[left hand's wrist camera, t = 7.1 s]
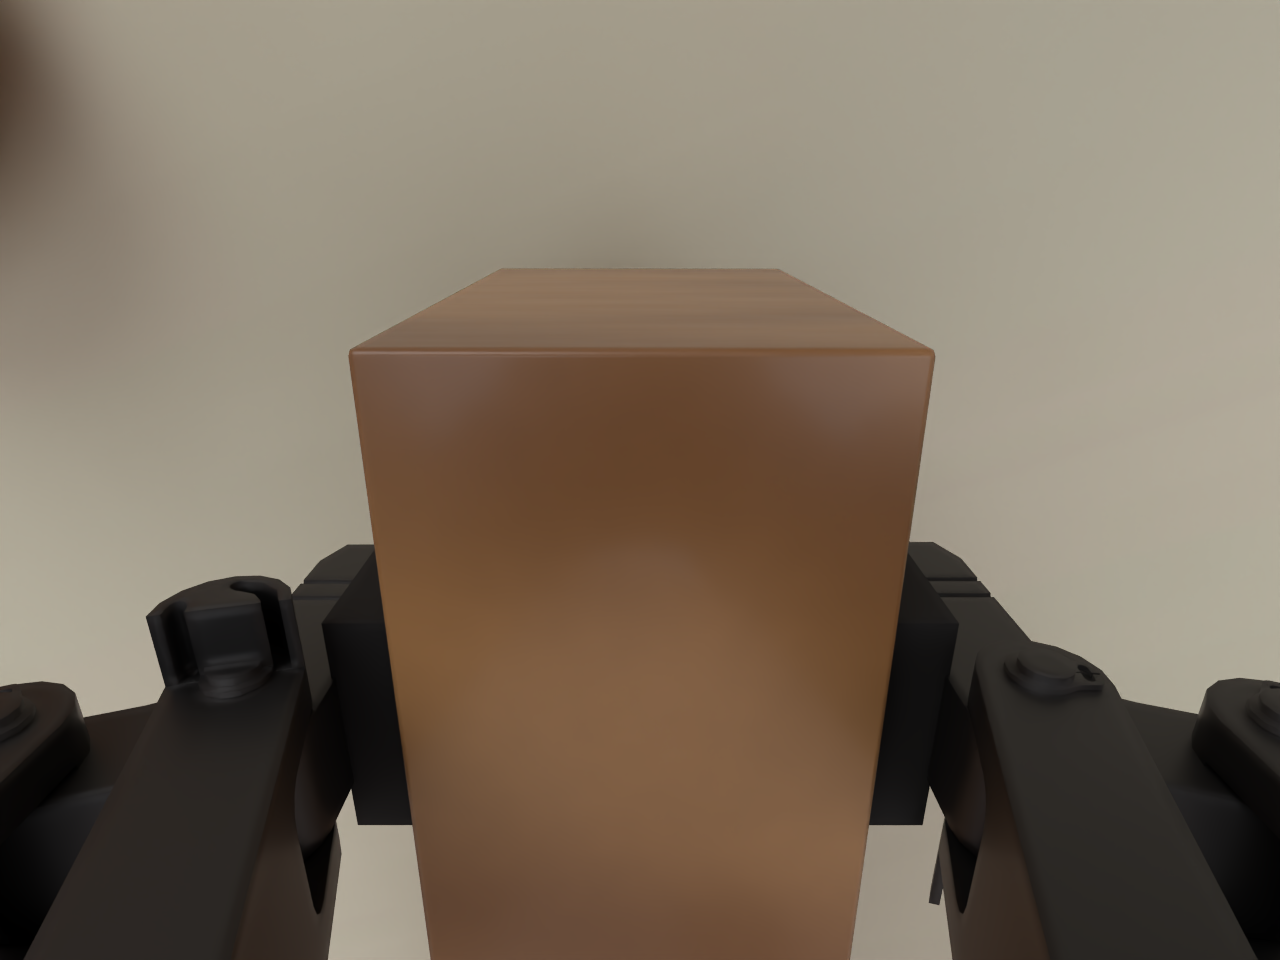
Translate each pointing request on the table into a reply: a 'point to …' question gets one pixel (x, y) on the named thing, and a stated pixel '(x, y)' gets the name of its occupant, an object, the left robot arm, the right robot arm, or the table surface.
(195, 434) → the table surface
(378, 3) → the table surface
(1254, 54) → the table surface
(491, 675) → the beam
